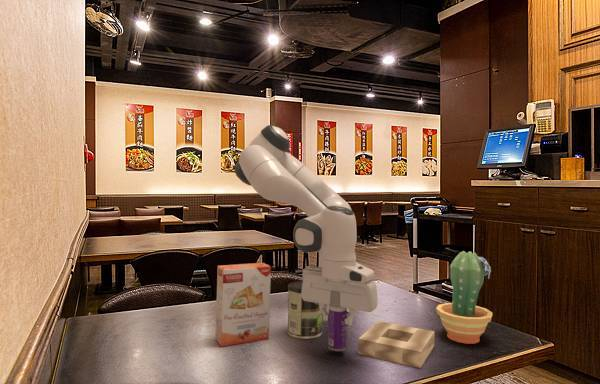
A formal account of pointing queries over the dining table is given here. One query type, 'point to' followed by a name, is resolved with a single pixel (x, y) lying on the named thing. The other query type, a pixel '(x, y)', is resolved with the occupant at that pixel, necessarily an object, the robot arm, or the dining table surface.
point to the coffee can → (302, 314)
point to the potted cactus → (466, 299)
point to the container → (336, 323)
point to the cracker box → (242, 303)
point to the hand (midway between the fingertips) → (337, 322)
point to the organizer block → (397, 343)
